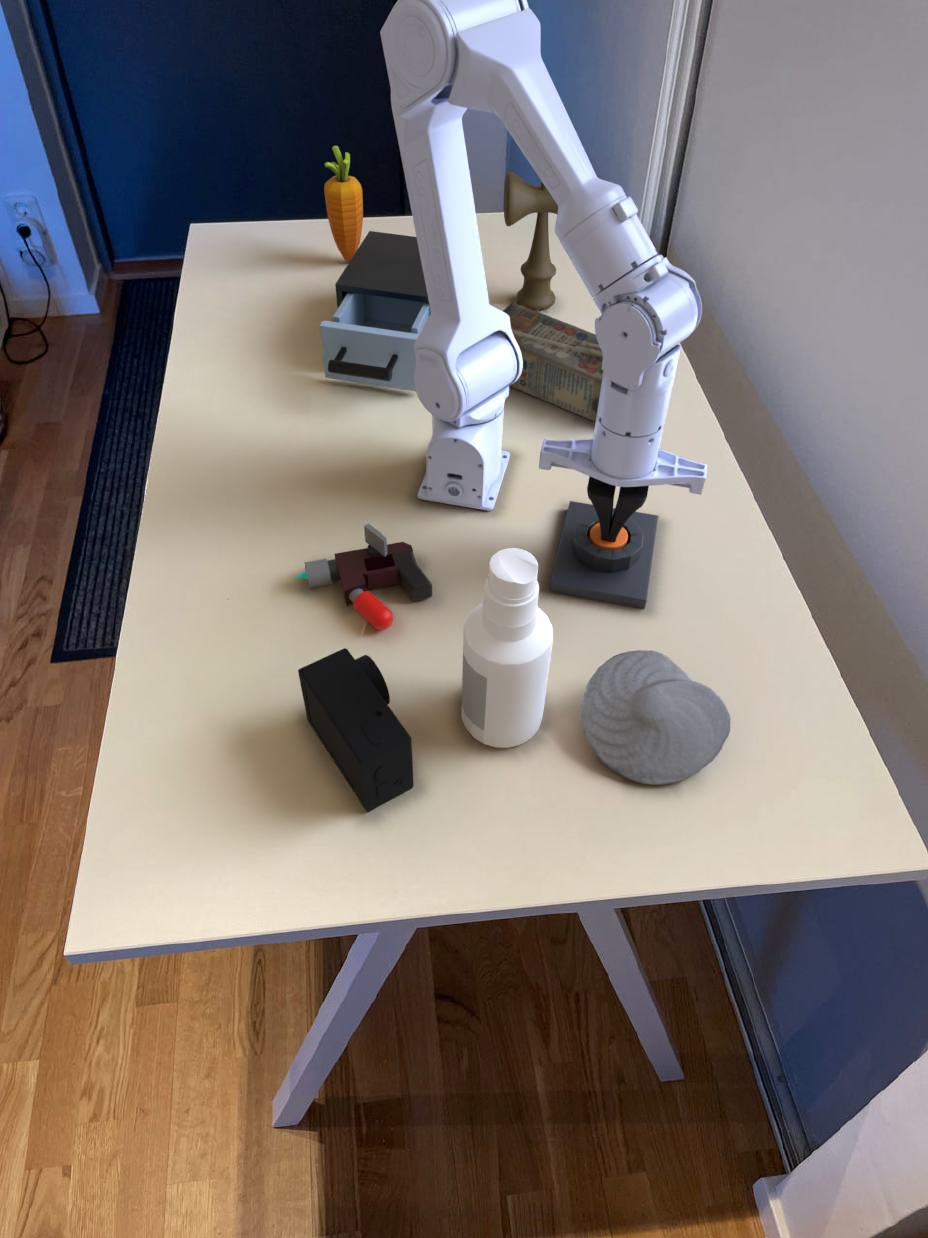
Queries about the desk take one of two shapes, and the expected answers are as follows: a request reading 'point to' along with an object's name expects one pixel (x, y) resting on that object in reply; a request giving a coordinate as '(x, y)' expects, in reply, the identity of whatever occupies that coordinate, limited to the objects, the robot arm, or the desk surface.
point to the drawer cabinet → (385, 269)
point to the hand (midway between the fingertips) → (609, 534)
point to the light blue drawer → (373, 340)
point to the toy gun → (371, 575)
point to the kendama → (538, 265)
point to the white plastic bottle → (506, 654)
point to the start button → (619, 544)
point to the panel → (604, 559)
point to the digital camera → (358, 726)
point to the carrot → (344, 206)
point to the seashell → (652, 719)
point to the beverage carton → (557, 361)
